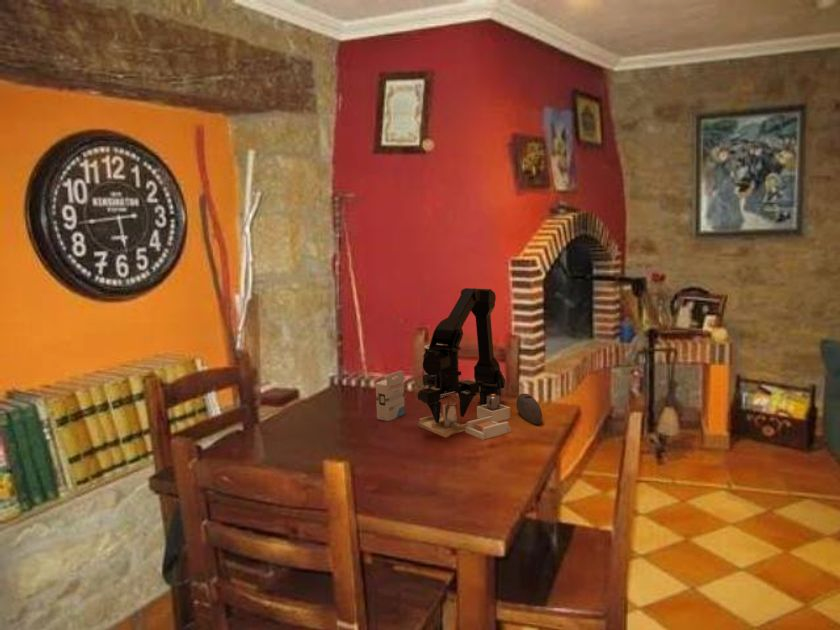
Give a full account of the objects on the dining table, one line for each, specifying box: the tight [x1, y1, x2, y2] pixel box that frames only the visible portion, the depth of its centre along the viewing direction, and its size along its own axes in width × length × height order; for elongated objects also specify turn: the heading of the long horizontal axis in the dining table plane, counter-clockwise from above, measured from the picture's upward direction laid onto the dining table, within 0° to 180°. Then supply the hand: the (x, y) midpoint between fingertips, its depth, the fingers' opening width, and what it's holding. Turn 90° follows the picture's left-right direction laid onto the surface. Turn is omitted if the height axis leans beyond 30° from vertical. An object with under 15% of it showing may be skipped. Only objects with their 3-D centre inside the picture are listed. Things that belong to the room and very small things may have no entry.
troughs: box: [417, 413, 467, 438], centre depth 194 cm, size 9×14×2 cm, turn 34°
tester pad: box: [476, 421, 495, 432], centre depth 188 cm, size 5×5×2 cm
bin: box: [476, 404, 511, 423], centre depth 201 cm, size 7×7×4 cm
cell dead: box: [487, 393, 500, 411], centre depth 200 cm, size 4×4×8 cm
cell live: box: [442, 401, 458, 429], centre depth 191 cm, size 4×4×8 cm
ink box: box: [375, 370, 406, 422], centre depth 206 cm, size 9×5×15 cm, turn 143°
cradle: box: [464, 416, 511, 440], centre depth 188 cm, size 10×8×4 cm
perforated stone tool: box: [515, 393, 543, 426], centre depth 199 cm, size 15×5×7 cm, turn 9°
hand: (449, 419), depth 191 cm, fingers open, 9 cm apart
